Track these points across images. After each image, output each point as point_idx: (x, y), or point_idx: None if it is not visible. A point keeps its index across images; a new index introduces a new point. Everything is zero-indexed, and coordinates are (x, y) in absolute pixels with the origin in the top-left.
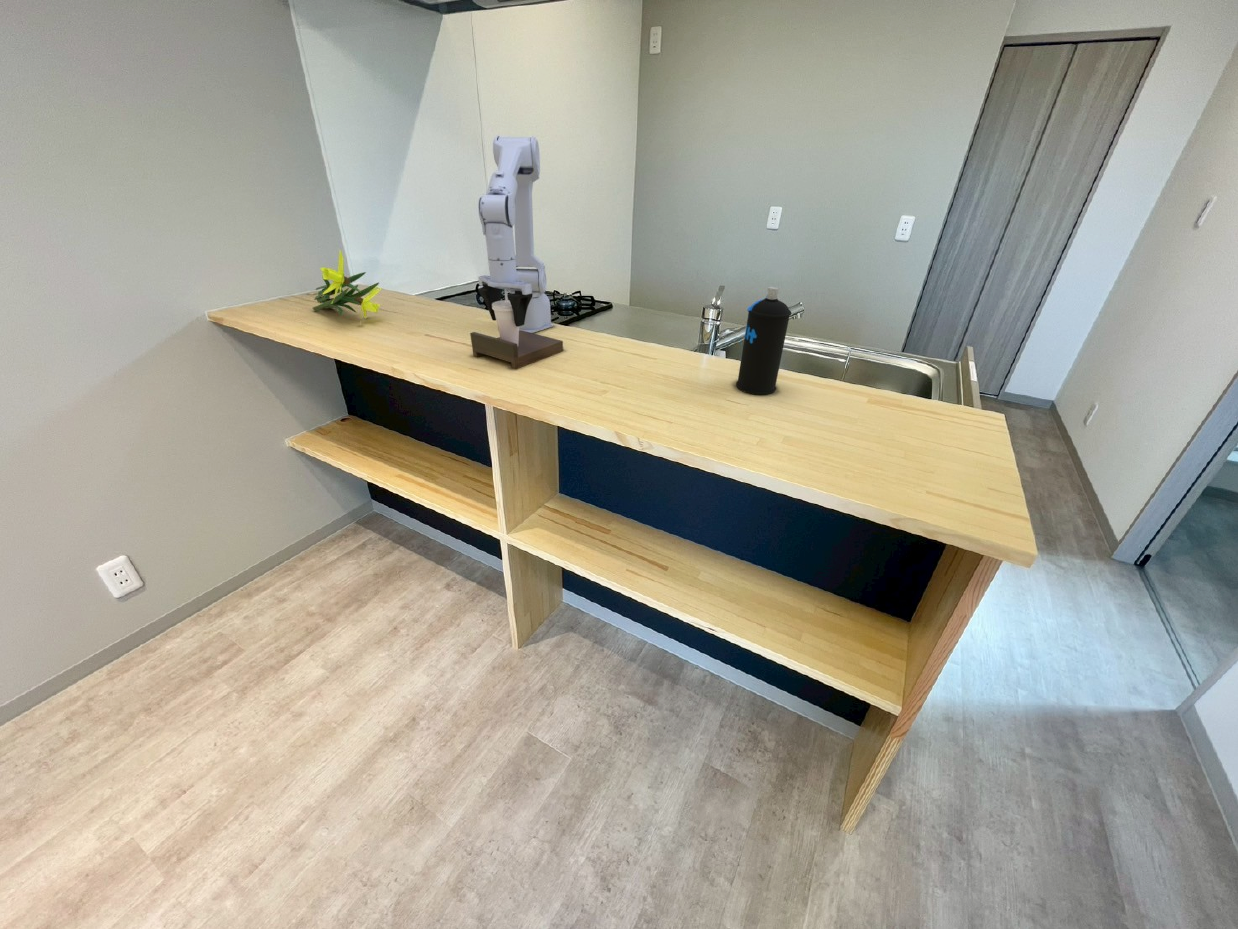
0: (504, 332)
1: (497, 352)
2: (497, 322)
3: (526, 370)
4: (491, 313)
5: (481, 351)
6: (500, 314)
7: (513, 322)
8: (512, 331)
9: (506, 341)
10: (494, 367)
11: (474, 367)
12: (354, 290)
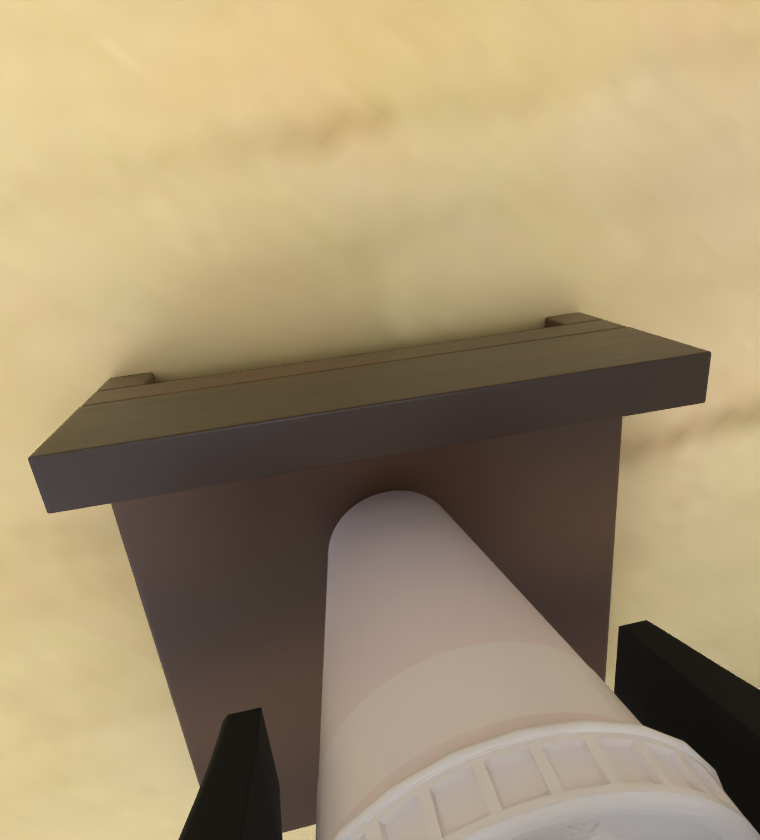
0: (379, 570)
1: (308, 375)
2: (493, 607)
3: (33, 426)
4: (690, 674)
5: (505, 336)
6: (437, 717)
7: (320, 734)
8: (328, 637)
9: (199, 469)
10: (263, 282)
11: (376, 161)
12: None
